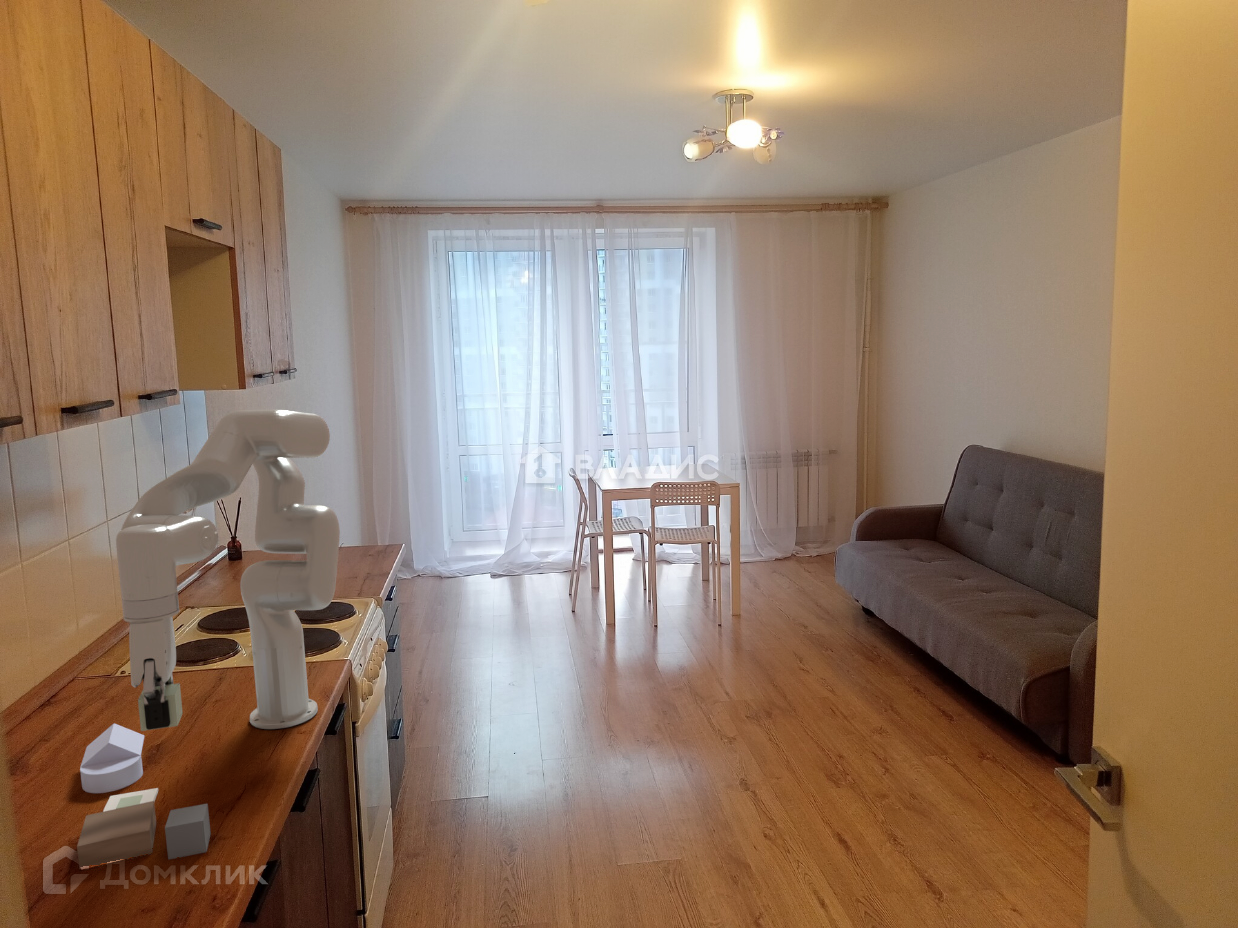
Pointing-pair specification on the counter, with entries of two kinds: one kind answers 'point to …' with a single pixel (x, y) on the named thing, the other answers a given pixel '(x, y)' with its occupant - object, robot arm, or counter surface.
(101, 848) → the taupe block
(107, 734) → the wedge on round base
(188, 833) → the charcoal cube
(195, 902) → the counter surface
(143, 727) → the sage cube
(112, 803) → the tile
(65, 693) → the counter surface
